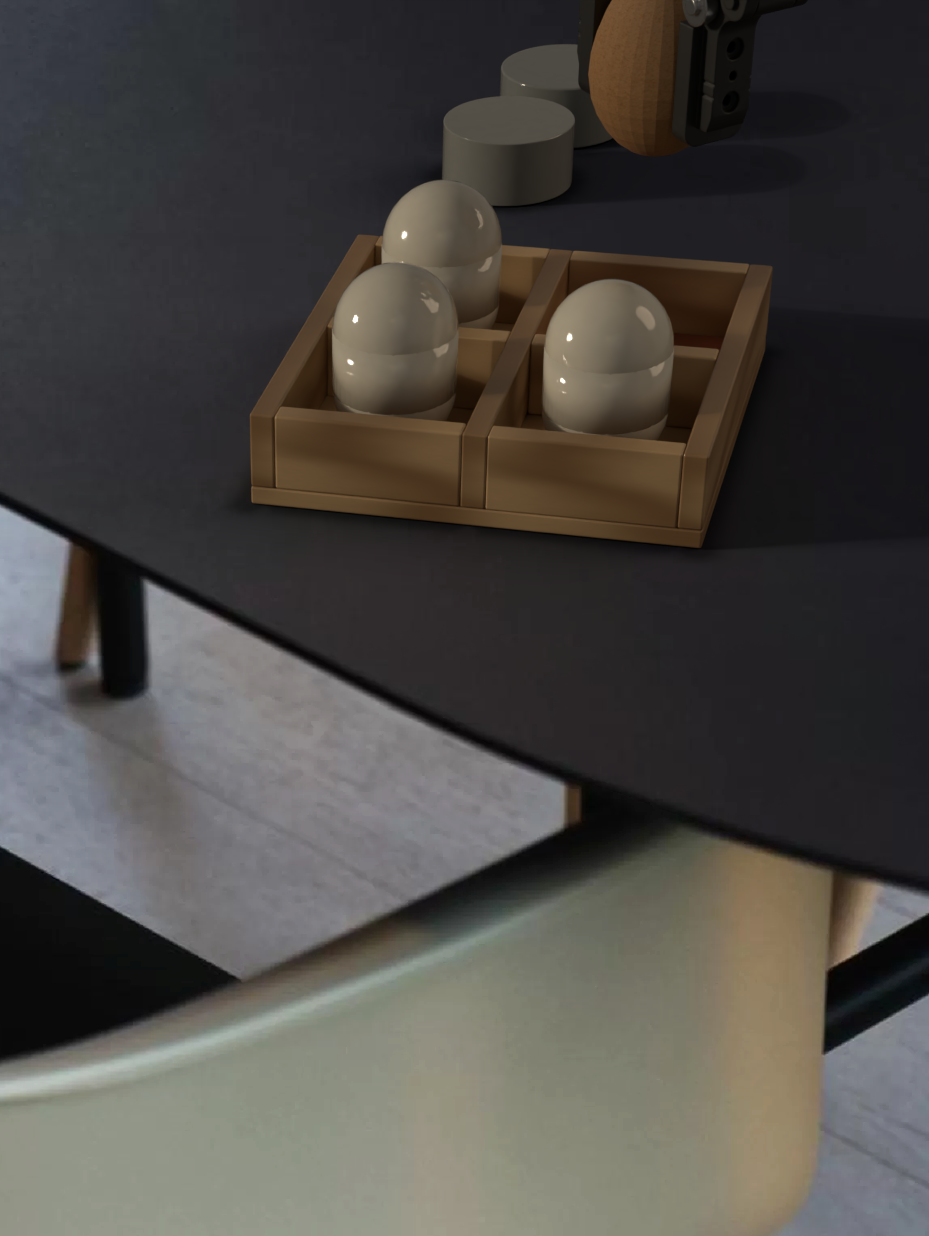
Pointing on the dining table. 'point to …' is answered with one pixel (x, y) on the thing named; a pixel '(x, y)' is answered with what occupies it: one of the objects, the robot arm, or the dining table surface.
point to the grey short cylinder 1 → (554, 86)
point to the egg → (637, 74)
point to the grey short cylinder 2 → (510, 148)
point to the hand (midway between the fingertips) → (657, 111)
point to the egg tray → (524, 412)
